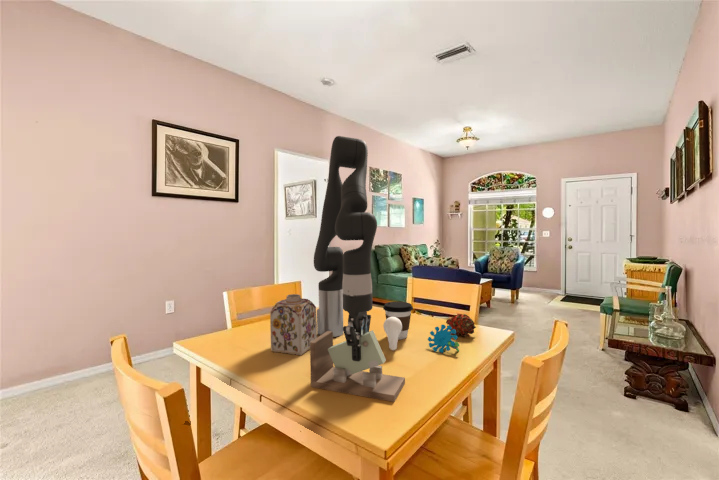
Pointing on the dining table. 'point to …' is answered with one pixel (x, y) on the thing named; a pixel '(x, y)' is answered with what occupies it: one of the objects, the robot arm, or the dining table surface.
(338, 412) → the dining table surface
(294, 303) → the decorative jar
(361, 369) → the door
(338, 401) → the dining table surface
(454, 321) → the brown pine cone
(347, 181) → the robot arm
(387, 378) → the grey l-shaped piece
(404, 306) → the coffee cup
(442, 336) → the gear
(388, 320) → the lightbulb
